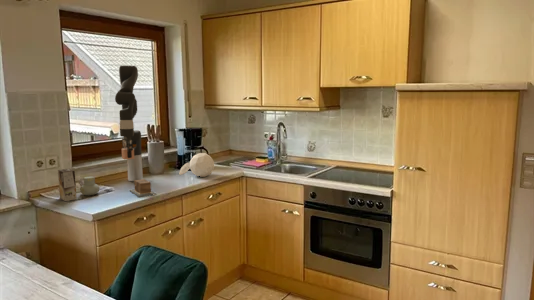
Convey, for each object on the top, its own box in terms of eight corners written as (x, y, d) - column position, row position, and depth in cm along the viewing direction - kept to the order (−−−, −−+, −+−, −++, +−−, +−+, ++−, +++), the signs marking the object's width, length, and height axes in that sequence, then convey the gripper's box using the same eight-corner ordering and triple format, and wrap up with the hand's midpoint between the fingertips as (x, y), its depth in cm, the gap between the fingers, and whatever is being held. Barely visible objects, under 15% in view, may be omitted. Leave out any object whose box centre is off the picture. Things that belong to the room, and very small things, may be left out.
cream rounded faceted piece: (210, 149, 273) (192, 145, 295) (186, 171, 264) (169, 165, 286) (223, 167, 280) (204, 161, 302) (199, 189, 271) (182, 181, 294)
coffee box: (77, 199, 223) (75, 170, 220) (65, 201, 218) (62, 172, 216) (71, 196, 229) (69, 168, 227) (59, 198, 225) (57, 169, 222)
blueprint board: (129, 191, 240) (129, 189, 240) (146, 188, 246) (146, 187, 246) (138, 197, 227) (138, 195, 227) (156, 194, 232) (156, 193, 232)
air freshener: (101, 194, 232) (100, 177, 230) (86, 197, 226) (85, 180, 225) (93, 191, 240) (92, 174, 238) (79, 193, 234) (78, 177, 232)
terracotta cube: (121, 158, 233) (121, 148, 232) (131, 157, 236) (131, 147, 235) (124, 159, 229) (124, 149, 228) (134, 158, 232) (133, 149, 231)
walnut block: (134, 190, 239) (134, 180, 238) (144, 188, 242) (144, 179, 241) (140, 193, 231) (140, 183, 230) (151, 192, 234) (150, 182, 233)
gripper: (137, 128, 226) (138, 158, 228) (129, 126, 238) (131, 154, 240) (123, 129, 222) (124, 159, 224) (116, 127, 234) (118, 155, 236)
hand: (128, 156), depth 232 cm, fingers closed on terracotta cube, 5 cm apart
